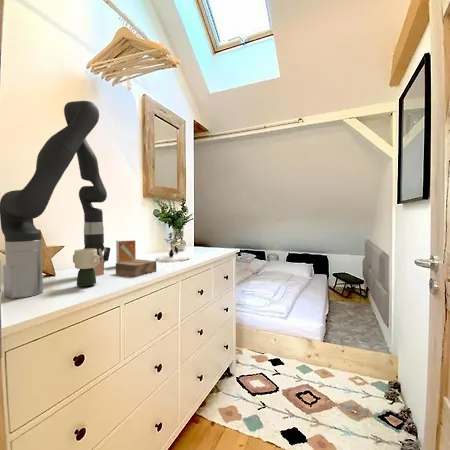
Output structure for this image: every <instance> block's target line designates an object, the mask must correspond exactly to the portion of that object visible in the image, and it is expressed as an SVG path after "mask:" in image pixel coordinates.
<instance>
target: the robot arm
mask: <svg viewBox="0 0 450 450" xmlns="http://www.w3.org/2000/svg"><path fill="white" fill-rule="evenodd" d="M63 114H64V118H65V122H66V124H67V125H66V126H65V127H63V128H62V129H60V130H59V131H57V132H56V133H54V134H53V135H52V136H50V137H49V138H48V139H47V140H46V142H45V143H44V144H43V146H42V148H41V149H40V150H39V152H38V153H37V154H38V155H37V157H36V164H35V165H36V166H35V171H34V174H33V176H32V177H31V178H30V180H29V181H28V183H27V184H26V185H25V186H24V187H23V188H22V189H15V190H10V191H7V192H5V193H4V194H3V195H2V196H1V197H0V229H1V233H2V235H4V236H3V237H4V247H5V248H4V251H5V252H4V253H5V254H4V256H5V265H3V267H2V268H3V269H2V271H3V272H2V274H3V275H2V276H3V296H4V297H6V298H8V299H11V300H13V299H17V298H18V299H21V298H27V297H32V296H36V295H40V294H41V293H43V292H44V283H43V251H42V249H43V247H42V246H43V245H42V232H41V231H40V230H39V229H38V228H37V227H36V226H35V224H34V219H37V218H38V217H40V216H42V215H43V213H44V212H45V210H46V208H47V206H48V205H49V202H50V199H51V198H52V195H53V193H54V191H55V188H57V185H58V183H59V182H60V180H61V179H62V178H63V177H62V176H63V175H64V174H65V172H66V170H67V168H68V167H69V166H70V164H71V163H72V161H73V159H74V158H75V156H76V157H77V161H78V168H79V172H80V173H79V174H80V178H81V179H82V180H83V181H88V182H90V183H91V184H92V185H83V186H82V187H80V189H79V190H78V198H79V201H80V204H81V206H82V211H83V218H84V220H83V221H84V223H83V244H84V248H83V249H97V255H99V257H100V260H103V262H104V263H105V262H109V259H110V253H111V247H107V246H106V247H105V245H104V243H105V238H104V237H105V236H104V235H105V233H104V231H105V229H104V220H103V219H104V218H103V216H104V215H103V214H104V213H103V209H101V208H98V207H94V206H93V203H96V204H97V203H100V204H101V203H104V202H105V201H106V199H107V197H108V193H107V190H106V187H105V185H104V183H103V180H102V178H101V175H100V170H99V169H100V168H99V161H98V158H97V156H96V153H95V152H94V151H93V149H92V147H91V146H90V144H89V143H88V140H87V137H88V135H90V133H91V132H92V131H93V129H94V128H95V127H96V125H97V124H98V122H99V119H100V112H99V108H98V106H97V105H96V104H95V103H94V102H92V101H89V100H77V101H76V100H75V101H74V100H73V101H69V102H67V103H65V105H64V107H63Z"/></svg>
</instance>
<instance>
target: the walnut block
mask: <svg viewBox="0 0 450 450" xmlns="http://www.w3.org/2000/svg"><path fill="white" fill-rule="evenodd" d="M151 272H153V273H157V261H155V260H148V259H140V258H139V259H136V260H131V261H125V262H120V263H117V262H116V263H115V275H121V276H126V277H127V276H128V277H134V278H137V277H141V276H144V274H145V275H148V273H149V274H152V273H151Z"/></svg>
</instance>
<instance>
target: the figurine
mask: <svg viewBox="0 0 450 450" xmlns="http://www.w3.org/2000/svg"><path fill="white" fill-rule="evenodd" d="M172 237H173V232H169V233H168V239H166V238H164V240H165V242H166V243H167V244H170V245H171V246H170V247H173V244H175V246H174V250H173V248H171V249H170V251H169V252H168V253H164V254H163V253H162V254H160V255H158V256H157V257H156V258H155V259H154V261H156V262H157V261H158V262H159V263H178V261H179V262H183V261H186V260H189V259H190V256H189V254H188V253H182V252H179V249H178V247H177V245H176V239H177V236H174V238H172Z"/></svg>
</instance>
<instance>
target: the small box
mask: <svg viewBox="0 0 450 450" xmlns="http://www.w3.org/2000/svg"><path fill="white" fill-rule="evenodd" d="M115 245H116V249H115V250H116V251H115V252H116V253H115V256H116V259H115V260H116V261H115V262H116V263H120V262H125V261H131V260H136V240H135V239H117V240H115Z"/></svg>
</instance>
